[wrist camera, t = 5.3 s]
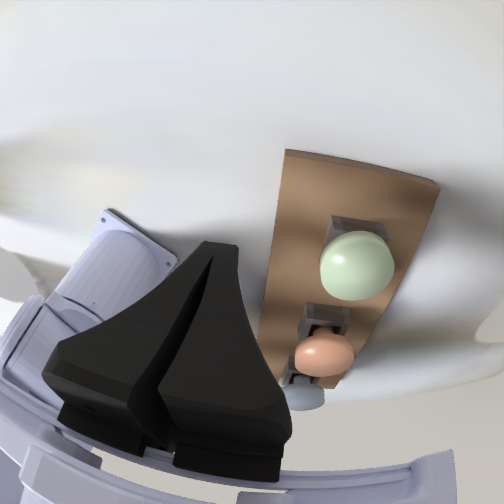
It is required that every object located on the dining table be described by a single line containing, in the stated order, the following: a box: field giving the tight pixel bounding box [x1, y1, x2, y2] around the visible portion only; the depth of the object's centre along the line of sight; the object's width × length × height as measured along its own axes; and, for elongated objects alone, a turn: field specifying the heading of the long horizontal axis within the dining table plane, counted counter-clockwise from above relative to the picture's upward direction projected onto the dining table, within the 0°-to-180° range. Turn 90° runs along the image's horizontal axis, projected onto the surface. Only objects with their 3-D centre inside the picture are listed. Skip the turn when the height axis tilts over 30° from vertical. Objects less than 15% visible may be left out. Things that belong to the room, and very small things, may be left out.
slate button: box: [281, 375, 324, 411], centre depth 28 cm, size 5×5×3 cm
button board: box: [257, 149, 440, 389], centre depth 25 cm, size 28×11×3 cm, turn 175°
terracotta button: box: [295, 327, 354, 377], centre depth 22 cm, size 5×5×3 cm
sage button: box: [320, 231, 394, 301], centre depth 18 cm, size 5×5×3 cm
